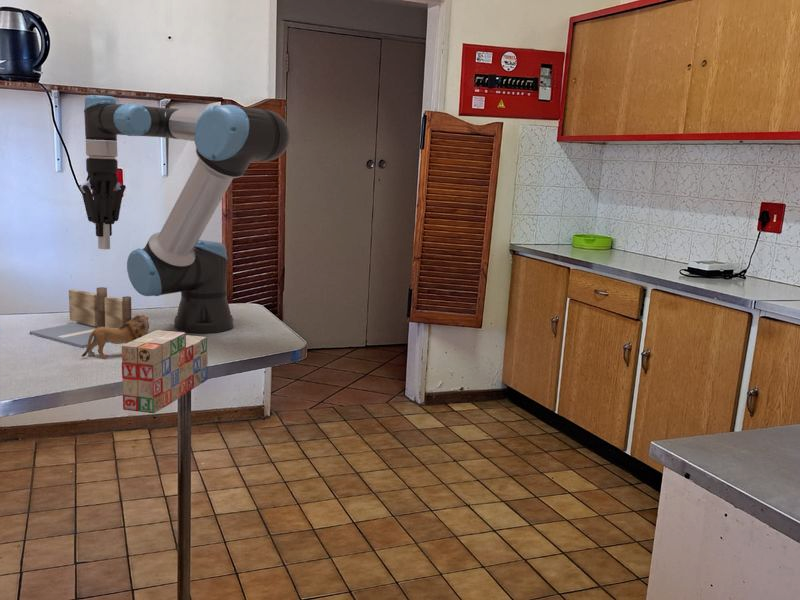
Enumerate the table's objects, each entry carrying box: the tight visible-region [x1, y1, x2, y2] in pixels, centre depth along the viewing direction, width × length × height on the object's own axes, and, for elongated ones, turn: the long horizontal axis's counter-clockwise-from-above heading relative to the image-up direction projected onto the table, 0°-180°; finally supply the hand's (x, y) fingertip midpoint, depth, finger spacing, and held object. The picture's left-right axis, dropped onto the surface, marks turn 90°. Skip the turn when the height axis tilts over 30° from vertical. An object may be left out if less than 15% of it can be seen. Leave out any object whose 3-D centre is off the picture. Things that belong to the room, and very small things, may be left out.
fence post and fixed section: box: [96, 286, 133, 328], centre depth 184 cm, size 12×2×11 cm, turn 59°
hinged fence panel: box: [68, 288, 98, 326], centre depth 190 cm, size 10×2×8 cm, turn 59°
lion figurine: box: [81, 313, 150, 359], centre depth 166 cm, size 15×5×9 cm, turn 124°
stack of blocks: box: [121, 329, 209, 414], centre depth 141 cm, size 21×6×12 cm, turn 168°
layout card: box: [29, 322, 109, 348], centre depth 183 cm, size 20×18×1 cm
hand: (104, 248), depth 195 cm, fingers closed
